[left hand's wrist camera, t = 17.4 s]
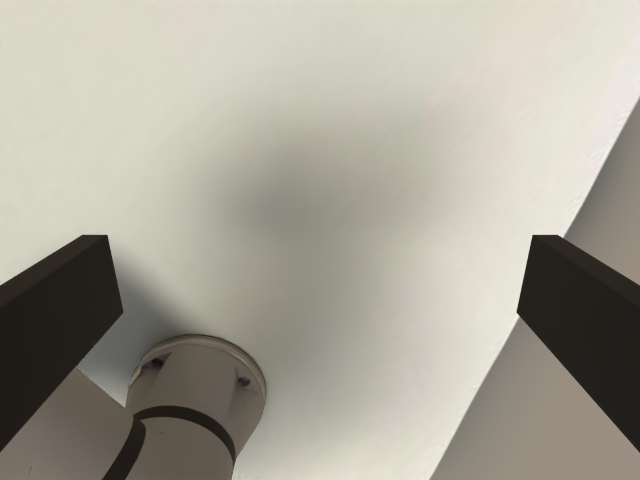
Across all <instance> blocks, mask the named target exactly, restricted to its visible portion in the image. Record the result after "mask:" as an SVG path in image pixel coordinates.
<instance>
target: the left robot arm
mask: <svg viewBox="0 0 640 480" xmlns="http://www.w3.org/2000/svg"><path fill="white" fill-rule="evenodd" d="M122 313H123V308H122V303H121V298H120V293H119V289H118V284H117V279H116V274H115V269H114V265H113V260H112V255H111V250H110V245H109V241H108V236H107V235H82V236H80V237H78V238H77V239H75V240H73V241H72V242H70V243H69V244H67V245H65V246H64V247H62V248H60V249H59V250H57V251H56V252H54V253H52V254H51V255H49V256H47V257H46V258H44V259H43V260H41V261H39V262H38V263H36V264H34V265H33V266H31V267H30V268H28V269H26V270H25V271H23V272H21V273H20V274H18V275H17V276H15V277H13V278H12V279H10V280H8V281H7V282H5V283H4V284H2V285H0V480H231V478H232V474H233V469H234V465H235V461H236V458H237V456H238V455H239V453H240V451H241V450H242V448H243V447H244V445H245V444H246V442H247V440H248V439H249V437H250V436H251V434H252V433H253V431H254V429H255V428H256V426H257V424H258V422H259V420H260V418H261V416H262V413H263V408H264V403H265V396H266V388H265V382H264V379H263V376H262V374H261V372H260V370H259V368H258V367H257V365H256V364H255V363H254V361H253V360H252V359H251V358H250V357H249V356H248V355H247V354H246V353H244V352H243V351H242V350H240V349H239V348H237V347H236V346H234V345H232V344H230V343H228V342H226V341H223V340H220V339H217V338H213V337H208V336H201V335H185V336H179V337H174V338H171V339H168V340H165V341H163V342H161V343H159V344H158V345H156V346H154V347H153V348H152V349H151V350H149V351H148V352H147V353H146V355H145V356H144V357H143V358H142V360H141V361H140V363H139V365H138V366H137V368H136V369H135V371H134V373H133V375H132V378H131V380H130V381H129V386H128V388H129V389H128V395H127V401H126V406H125V408H124V407H123V406H122V405H121V404H119V403H118V402H117V401H115V400H114V399H113V398H112V397H110V396H109V395H108V394H107V393H106V392H104V391H103V390H102V389H101V388H100V387H98V386H97V385H96V384H95V383H94V382H92V381H91V380H90V379H89V378H88V377H86V376H85V375H84V374H83V373H82V372H80V371H79V370H78V369H77V368H76V366H77V365H78V364H79V362H80V361H81V360H82V359H83V358H84V357H85V356H86V354H87V353H88V352H89V351H90V350H91V349H92V348H93V346H94V345H95V344H96V343H97V342H98V341H99V340H100V338H101V337H102V336H103V335H104V334H105V333H106V332H107V331H108V329H109V328H110V327H111V326H112V325H113V324H114V323H115V321H116V320H117V319H118V318H119V317H120V316H121V315H122ZM517 313H518V315H519V316H520V317H521V318H522V319H523V320H524V321H525V323H526V324H527V325H528V326H529V327H530V328H531V329H532V330H533V332H534V333H535V334H536V335H537V336H538V337H539V338H540V340H541V341H542V342H543V343H544V344H545V345H546V346H547V348H548V349H549V350H550V351H551V352H552V353H553V354H554V356H555V357H556V358H557V359H558V360H559V361H560V362H561V364H562V365H563V366H564V367H565V368H566V369H567V370H568V371H569V373H570V374H571V375H572V376H573V377H574V378H575V379H576V381H577V382H578V383H579V384H580V385H581V386H582V387H583V389H584V390H585V391H586V392H587V393H588V394H589V395H590V397H591V398H592V399H593V400H594V401H595V402H596V403H597V404H598V406H599V407H600V408H601V409H602V410H603V411H604V412H605V414H606V415H607V416H608V417H609V418H610V419H611V420H612V422H613V423H614V424H615V425H616V426H617V427H618V428H619V429H620V431H621V432H622V433H623V434H624V435H625V436H626V437H627V439H628V440H629V441H630V442H631V443H632V444H633V445H634V447H635V448H636V449H637V450H638V451H639V452H640V285H638V284H636V283H635V282H633V281H631V280H630V279H628V278H627V277H625V276H623V275H622V274H620V273H618V272H617V271H615V270H614V269H612V268H610V267H609V266H607V265H606V264H604V263H602V262H601V261H599V260H597V259H596V258H594V257H593V256H591V255H589V254H588V253H586V252H584V251H583V250H581V249H580V248H578V247H576V246H575V245H573V244H571V243H570V242H568V241H566V240H565V239H563V238H562V237H560V236H558V235H533V236H532V241H531V245H530V250H529V255H528V260H527V265H526V269H525V274H524V279H523V284H522V289H521V293H520V298H519V303H518V308H517Z"/></svg>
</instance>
